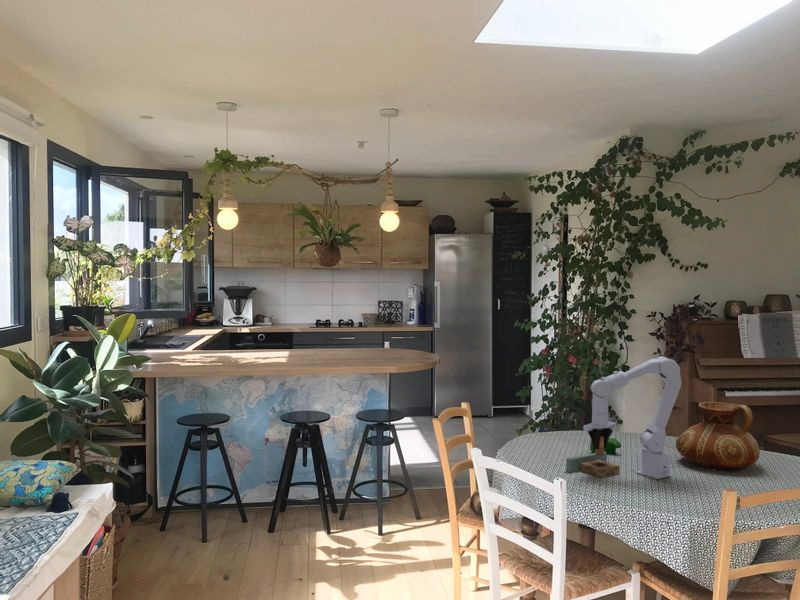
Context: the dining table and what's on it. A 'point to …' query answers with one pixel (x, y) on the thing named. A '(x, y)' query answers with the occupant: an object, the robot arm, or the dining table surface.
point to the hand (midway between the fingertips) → (599, 448)
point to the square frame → (599, 468)
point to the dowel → (600, 447)
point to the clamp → (608, 446)
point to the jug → (720, 439)
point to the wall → (574, 462)
